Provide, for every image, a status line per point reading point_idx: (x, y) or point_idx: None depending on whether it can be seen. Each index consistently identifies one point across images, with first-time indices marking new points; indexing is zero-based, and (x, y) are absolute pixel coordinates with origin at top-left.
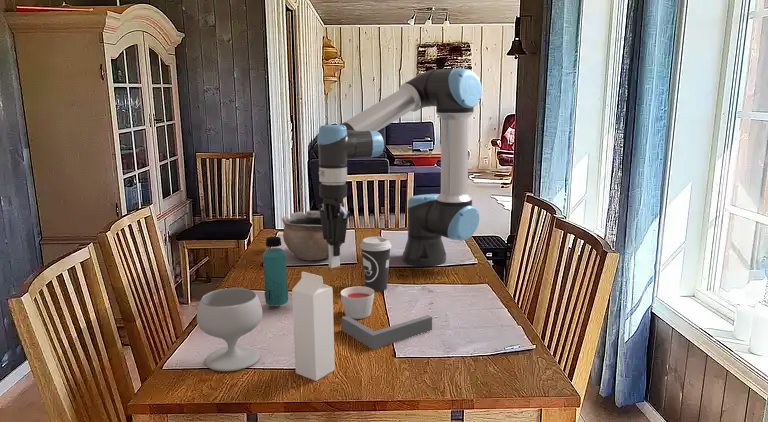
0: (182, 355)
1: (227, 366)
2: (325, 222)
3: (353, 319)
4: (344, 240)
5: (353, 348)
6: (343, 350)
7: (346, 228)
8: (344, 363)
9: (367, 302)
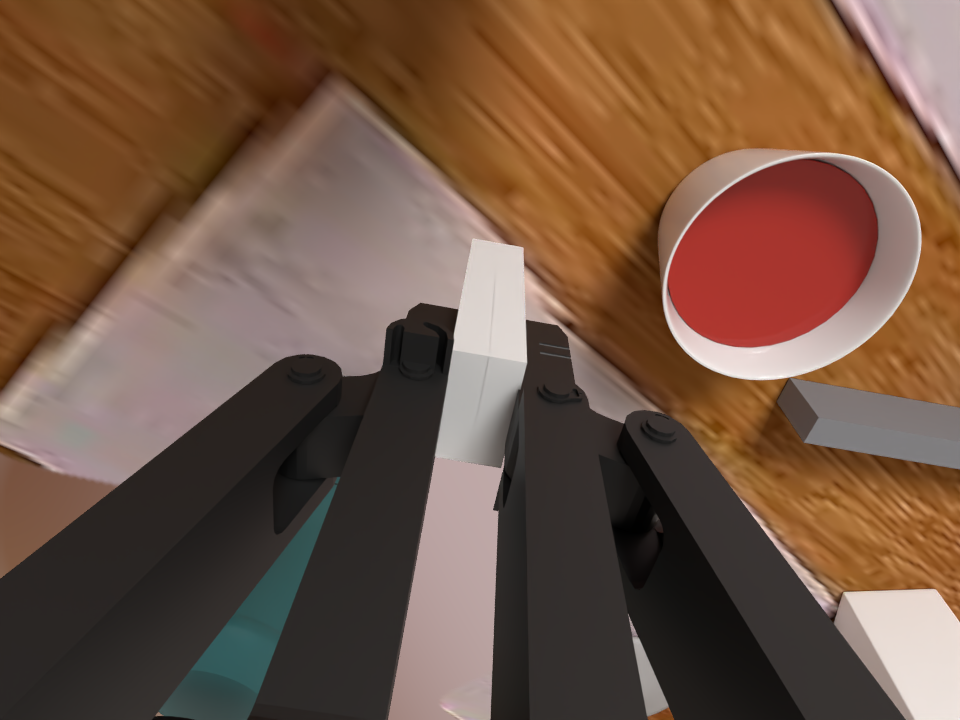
0: (481, 712)
1: (649, 712)
2: (166, 662)
3: (878, 428)
4: (696, 454)
5: (919, 474)
6: (889, 501)
7: (849, 648)
8: (944, 551)
9: (876, 276)
